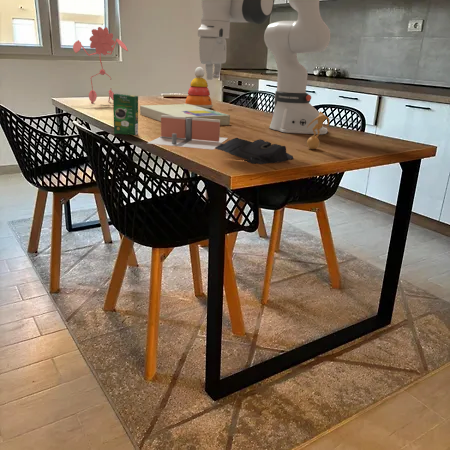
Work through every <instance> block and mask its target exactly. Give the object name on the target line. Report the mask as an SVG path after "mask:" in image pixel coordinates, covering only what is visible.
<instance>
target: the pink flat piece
mask: <svg viewBox="0 0 450 450" xmlns="http://www.w3.org/2000/svg"><path fill="white" fill-rule="evenodd" d="M172 134H177V138H184V139H185V138H186V140H192V118H186V117H179V116H167V115H161V123H160V137H161V136H162V137H172Z"/></svg>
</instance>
